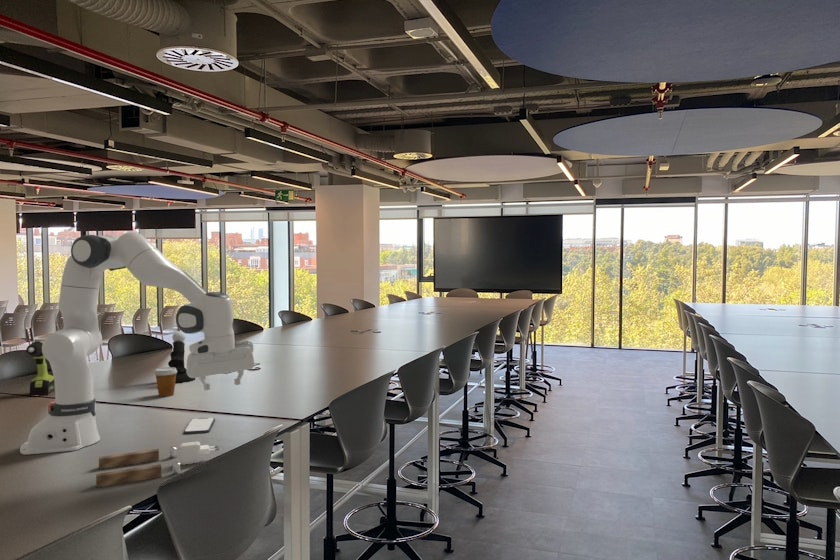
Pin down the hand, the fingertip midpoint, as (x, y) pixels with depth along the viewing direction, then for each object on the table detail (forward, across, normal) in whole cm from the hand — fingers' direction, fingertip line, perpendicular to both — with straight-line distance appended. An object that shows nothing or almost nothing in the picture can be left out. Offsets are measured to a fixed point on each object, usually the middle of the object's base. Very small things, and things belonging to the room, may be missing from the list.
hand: (222, 387), depth 179 cm
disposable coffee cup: (+23, +2, -94) cm, 97 cm away
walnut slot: (+20, +28, +1) cm, 34 cm away
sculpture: (+24, -9, -121) cm, 124 cm away
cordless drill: (+21, +50, -126) cm, 137 cm away
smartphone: (+22, 0, -34) cm, 41 cm away
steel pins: (+20, +16, +3) cm, 26 cm away
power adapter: (+21, +9, +3) cm, 23 cm away
